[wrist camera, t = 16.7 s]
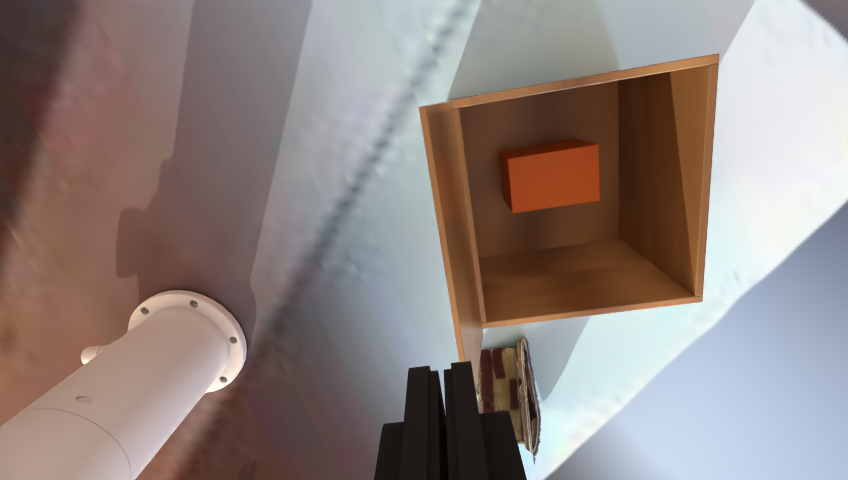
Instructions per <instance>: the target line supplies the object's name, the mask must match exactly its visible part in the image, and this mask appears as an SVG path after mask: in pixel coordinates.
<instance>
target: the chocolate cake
mask: <svg viewBox="0 0 848 480" xmlns="http://www.w3.org/2000/svg"><path fill="white" fill-rule="evenodd" d="M528 344H529V343H528V341H527V338H526V336H525V337H524V338H523V339H522V340H518V341H517V348H506V349H501V348H497V349H491V350H481V355H480V363H479V371H478V379H477V387H476V396H477V402H478V409H479V413H488V412H497V411H507V410H509V413H510V416H511V420H512V424H513V428H514V432H515V436H516V440H517V443H518V444H524V445H525V448H526V449H527V450H528V451H530V452H531V453H532V455H533V460H534V465H535V456H536V455H537V452H538V445H539V443H540V441H539V440H540V438H539V436H540V431H541V428H540V426H541V417H540V408H539V400H537V397H538V396H537V392H536V387H535V379H534V375H533V369H532V366H531V361H530V360H531V359H530V354H529V347H528V346H529V345H528Z"/></svg>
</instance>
